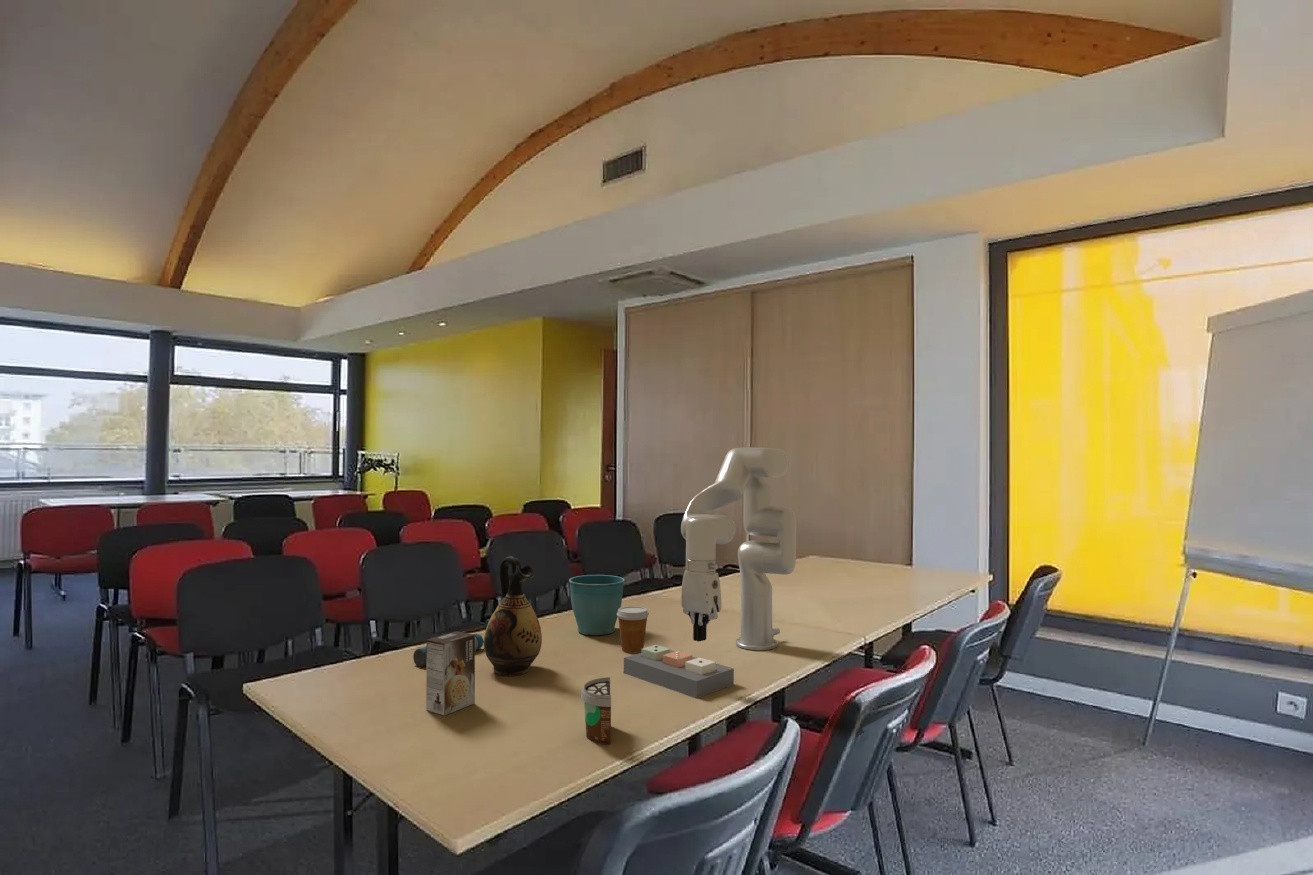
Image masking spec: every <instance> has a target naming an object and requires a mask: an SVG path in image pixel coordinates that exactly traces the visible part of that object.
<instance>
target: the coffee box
mask: <svg viewBox="0 0 1313 875" xmlns="http://www.w3.org/2000/svg"><path fill="white" fill-rule="evenodd" d="M474 634H475V633H467V632H462V631H453V632H448V633H445V634H442V635H438V636H434V637H431V638H428V639H426V646H427V656H426V669H425V670H426V674H425V675H426V678H425V679H426V684H425V685H426V686H425V687H426V695H425V697H426V698H425V699H426V700H425V701H426V704H425V705H426V706H425V707H426V708H425V709H426V711H428V712H430V713H435V714H437V715H441V716H447V715H449V714H452V713H454V712H457V711H458V710H462V709H464V708H467V707H469V706H471V705H473V704H475V702H476V697H475V696H476V691H475V689H476V657H475V656H476V651H475V635H474Z"/></svg>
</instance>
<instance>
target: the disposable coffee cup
mask: <svg viewBox="0 0 1313 875" xmlns="http://www.w3.org/2000/svg"><path fill="white" fill-rule="evenodd" d="M649 613H650V612H648V609H647V608H646V607H643V606H638V605H637V606H635V605H634V606H633V605H632V606H631V605H630V606H623V607H622V606H621V608H619V609H618V613H617V616H618V617H617V620H618V628H619V636H620V642H621V643H620V644H621V645H620V646H621V652H623V653H628V654H639V653H642V649H643V648H645V647H644V644H645V638H646V630H647V629H646V628H647V622H648V618H649V615H650V614H649Z"/></svg>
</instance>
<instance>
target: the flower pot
mask: <svg viewBox="0 0 1313 875" xmlns="http://www.w3.org/2000/svg"><path fill="white" fill-rule="evenodd" d="M568 582H569V590H570V602H571V608H572V612H573V615H574V618H575V621H576V625H577V631H578V633H580V634H582V635H587V636H588V635H589V636H603V635H609V634H612V633H614V632H615V630H616V623H617V620H618V616H617V613H618V609H619V608H622V603H623V593H624V584H625V578H623V577H620V576H616V575H610V574H609V575H605V574H586V575H578V576H574V577H570V578H569V580H568Z"/></svg>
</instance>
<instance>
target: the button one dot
mask: <svg viewBox="0 0 1313 875" xmlns="http://www.w3.org/2000/svg"><path fill="white" fill-rule="evenodd" d="M716 664H717V663H716V661H713V660H710V659H705V658H703V657H696V659H693V660H690V661H687V662H685V671H689V672H692V673H695V674H698V675H704V674H707V673H710V672H713V671H716Z"/></svg>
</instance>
